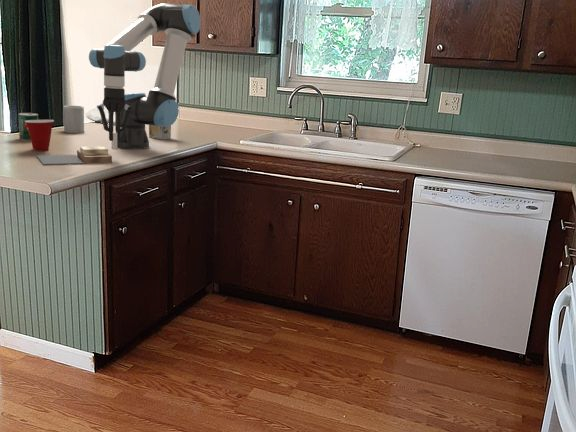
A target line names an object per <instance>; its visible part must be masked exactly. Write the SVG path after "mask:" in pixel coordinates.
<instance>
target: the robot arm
mask: <svg viewBox="0 0 576 432" xmlns="http://www.w3.org/2000/svg"><path fill="white" fill-rule="evenodd" d="M201 24H202V21H201V17H200V12H199V10H198V9H197V8H196V6H194V5H193V4H186V3H185V4H184V3H183V4H182V3H179V4H177V3H166V2H165V3H159V4H156V5H154V6H152V7H149V8H148V9H147V10H145V11H144V12H142V13H141V14H140V15H139V16H138V17H137V20H136V21H135V22H134V23H132V24H131V25H130V26H128V27H127V28H126V29H124V30H123V31H122V32H121V33H119V34H118V35H117V36H116V37H114V38H113V39H111V40H110V41H109V42H108V43H107V44H105V45H104V46H103V47H102V48H100V47H97V48H95V47H94V48H92V49H91V50H90V52H89V54H88V61H89V64H90V65H91V66H92V67H94V68H99V69H103V86H104V88H103V100H102V103H101V104H98V105H96V107H97V108H98V110H99V111H100V115H101V119H102V123H101V124H102V126H103V127H102V128H103V129H104V131H106V132H108V140H109V141H111V149H112V150H113V151H115V150H118V149H119V148H120V149H128V150H142V149H148V148H149V147H150V140H149V136H148V134H147V131H146V125H148V126H149V125H153V126H158V127H169V126H171V127H172V125H173V124H174V123H175V122H176V120H177V119H178V117H179V113H180V112H179V111H180V110H179V104H178V102H177V98H176V96H175V90H176V86H177V82H178V79H179V74H180V71H181V66H182V62H183V59H184V55H185V51H186V48H187V47H186V46H187V43H189V42H190V41H191V40H192V39H193V35H196V34H198V32H200V30H201ZM160 32H164V33H165V34H166V39H165V43H164V47H163V52H162V55H161V59H160V61H159V62H160V63H159V66H158V71H157V74H156V78H155V81H154V86H153V88H151V89H150V90H149V91H148V94H146V93H144V92H137V93H136V92H135V93H126V92H125V91H126V90H125V87H126V86H125V83H126V81H125V79H126V78H125V77H126V76H125V75H126V74H125V72H135V73H136V72H140V71H143V70H144V69H145V67H146V65H147V59H146V57H145V55H144V54H143V53H142V52H140V51H137V50H133V49H135V48H136V47H137V46H138V45H139V44H140V43H142V42H143V41H144V40H145V39H147V38H148V37H150V36H154V35H156V33H160ZM132 50H133V51H132ZM104 109H106V110H107V111H108V114H109V124H107V121H106V117H105V113H104ZM114 113H115V125H113V115H114ZM114 126H115V129H114Z"/></svg>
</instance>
